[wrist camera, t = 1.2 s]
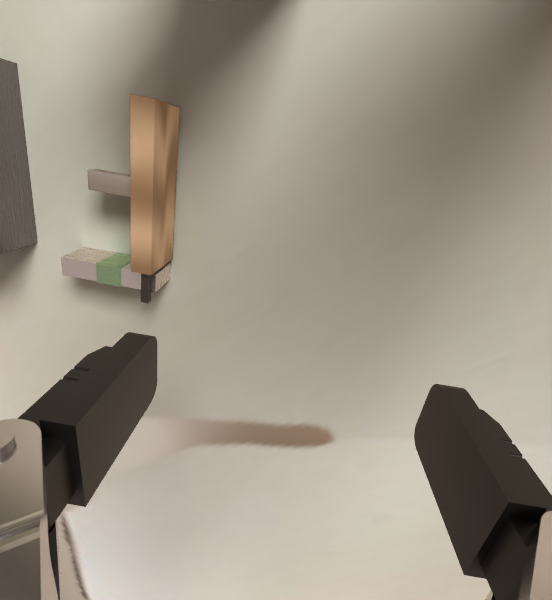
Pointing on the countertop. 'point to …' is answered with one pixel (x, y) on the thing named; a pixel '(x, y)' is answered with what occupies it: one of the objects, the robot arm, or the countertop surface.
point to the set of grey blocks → (19, 206)
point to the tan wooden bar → (148, 185)
